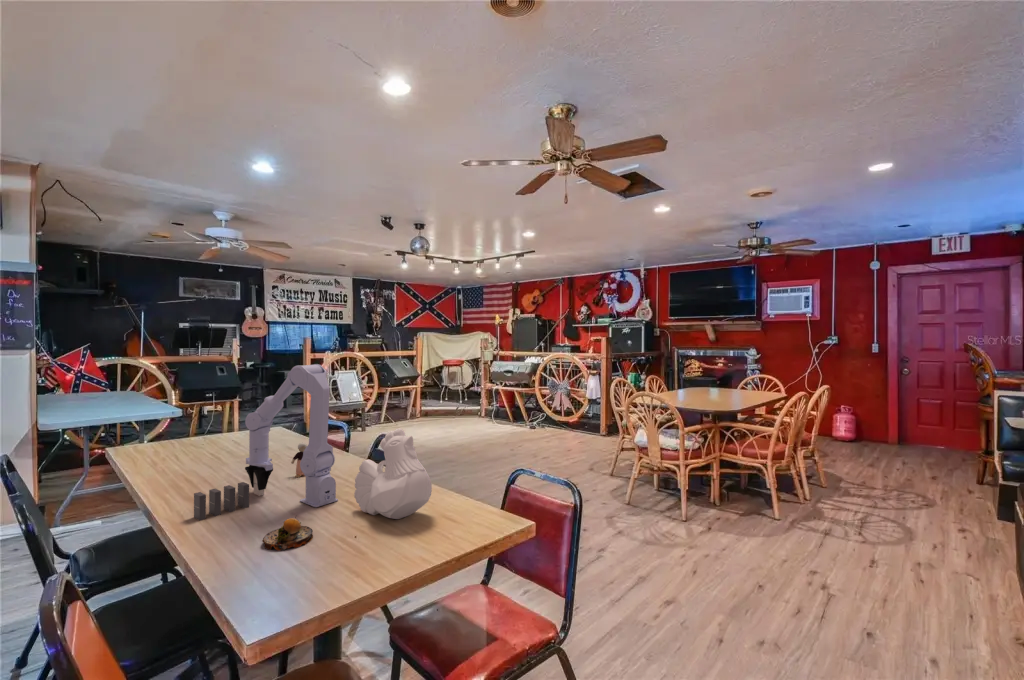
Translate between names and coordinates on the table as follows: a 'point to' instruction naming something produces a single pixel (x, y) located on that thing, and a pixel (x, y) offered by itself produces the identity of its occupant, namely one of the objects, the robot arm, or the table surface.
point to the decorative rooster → (393, 480)
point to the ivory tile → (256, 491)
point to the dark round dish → (288, 536)
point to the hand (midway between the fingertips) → (258, 488)
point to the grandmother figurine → (299, 459)
